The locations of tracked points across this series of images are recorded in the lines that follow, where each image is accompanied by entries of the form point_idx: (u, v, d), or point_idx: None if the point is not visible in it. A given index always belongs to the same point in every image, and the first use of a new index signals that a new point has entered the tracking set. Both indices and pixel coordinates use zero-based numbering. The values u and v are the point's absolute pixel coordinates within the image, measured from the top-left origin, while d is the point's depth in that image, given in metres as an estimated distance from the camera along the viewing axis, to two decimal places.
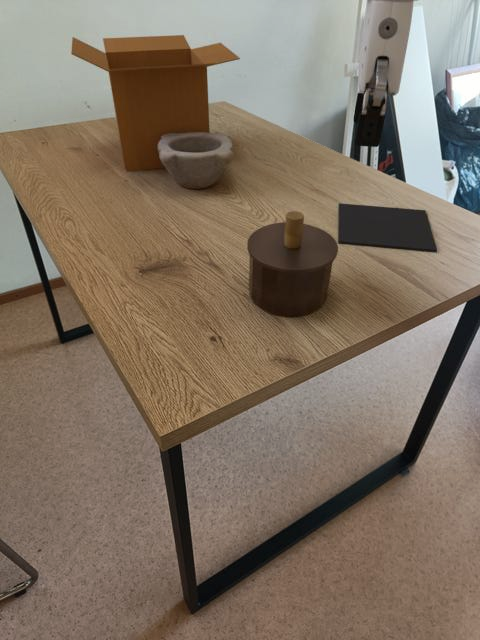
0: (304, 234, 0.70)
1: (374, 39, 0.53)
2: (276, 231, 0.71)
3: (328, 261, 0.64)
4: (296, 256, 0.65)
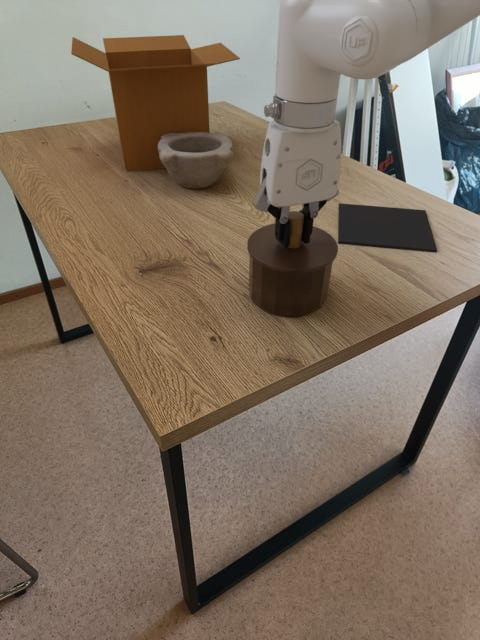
0: None
1: (263, 152, 0.59)
2: None
3: (328, 261, 0.64)
4: (296, 256, 0.65)
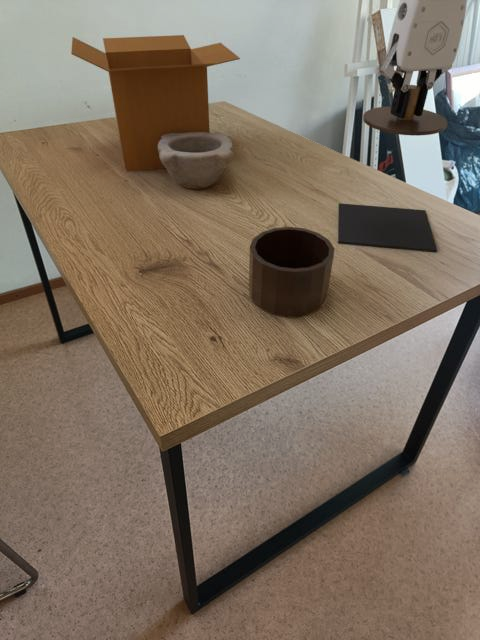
0: None
1: (395, 19, 0.66)
2: (385, 111, 0.79)
3: (442, 127, 0.72)
4: (412, 124, 0.73)
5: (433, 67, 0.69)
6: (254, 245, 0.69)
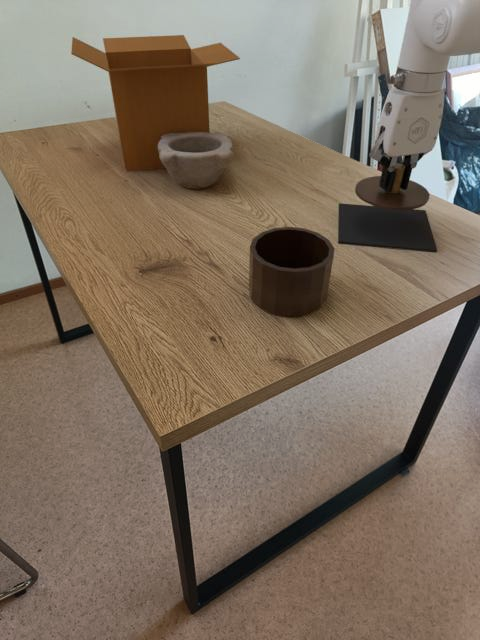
0: None
1: (382, 113, 0.76)
2: (375, 181, 0.88)
3: (424, 202, 0.82)
4: (398, 198, 0.83)
5: (416, 152, 0.78)
6: (254, 245, 0.69)
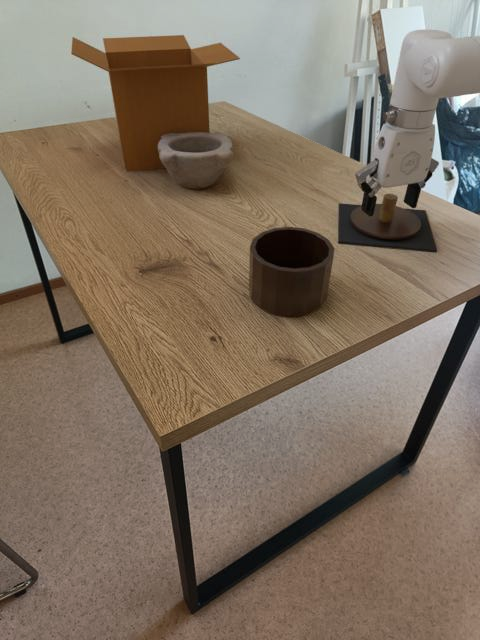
0: None
1: (376, 147, 0.80)
2: None
3: (416, 231, 0.86)
4: (391, 227, 0.87)
5: (408, 183, 0.82)
6: (254, 245, 0.69)
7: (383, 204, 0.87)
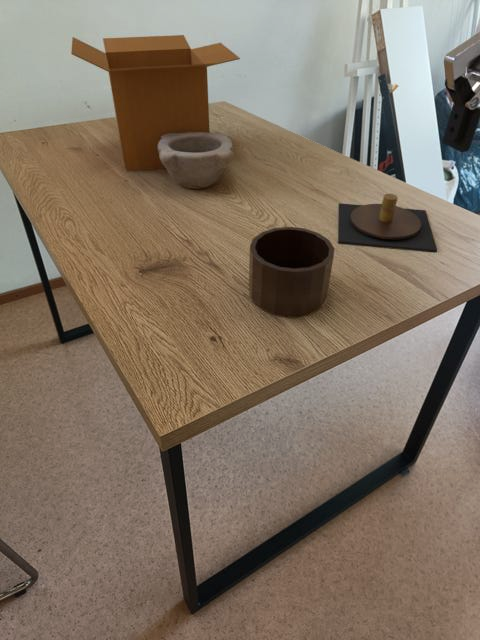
0: None
1: None
2: (370, 209, 0.92)
3: (416, 231, 0.86)
4: (391, 227, 0.87)
5: None
6: (254, 245, 0.69)
7: (383, 204, 0.87)
